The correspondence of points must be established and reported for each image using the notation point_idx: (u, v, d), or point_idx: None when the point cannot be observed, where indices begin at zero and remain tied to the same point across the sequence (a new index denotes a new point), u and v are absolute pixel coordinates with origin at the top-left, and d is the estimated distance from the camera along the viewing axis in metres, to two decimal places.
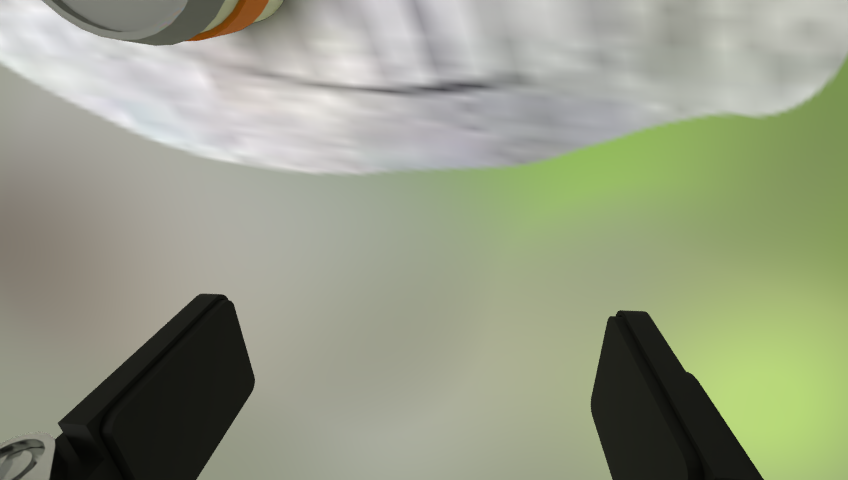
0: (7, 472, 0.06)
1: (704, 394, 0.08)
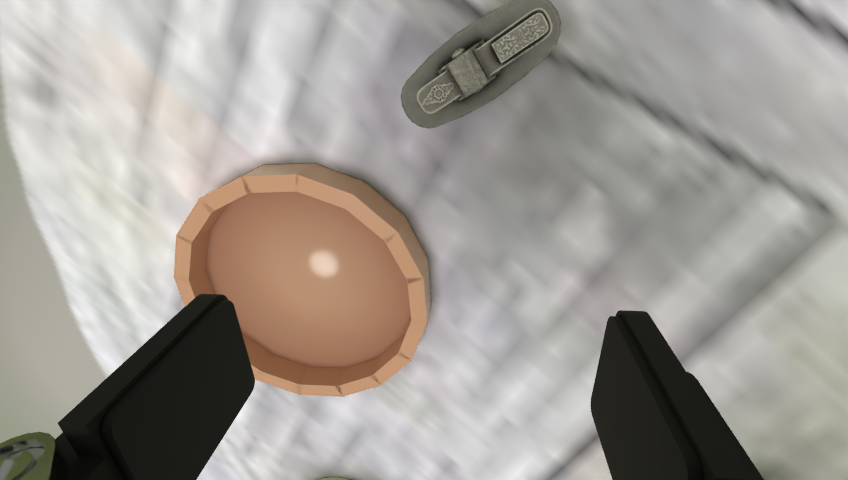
0: (7, 472, 0.06)
1: (704, 394, 0.08)
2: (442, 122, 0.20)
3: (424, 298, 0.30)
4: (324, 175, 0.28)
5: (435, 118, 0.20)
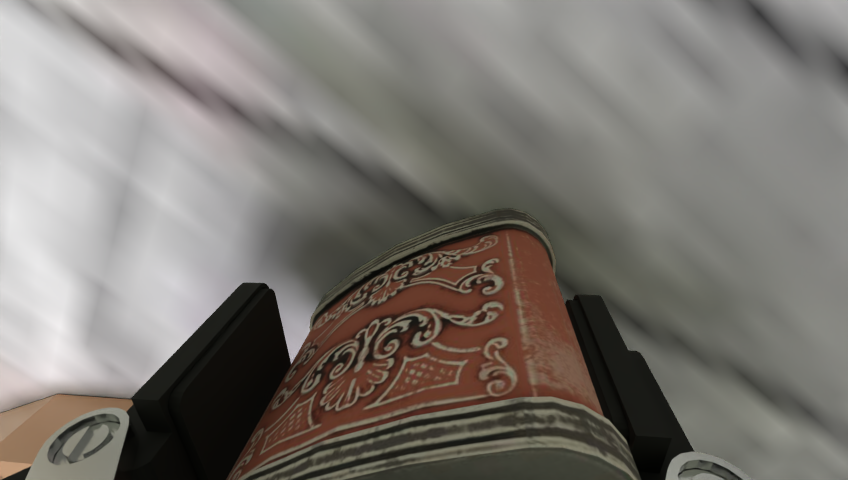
0: (87, 443, 0.07)
1: (648, 371, 0.08)
2: None
3: None
4: None
5: None
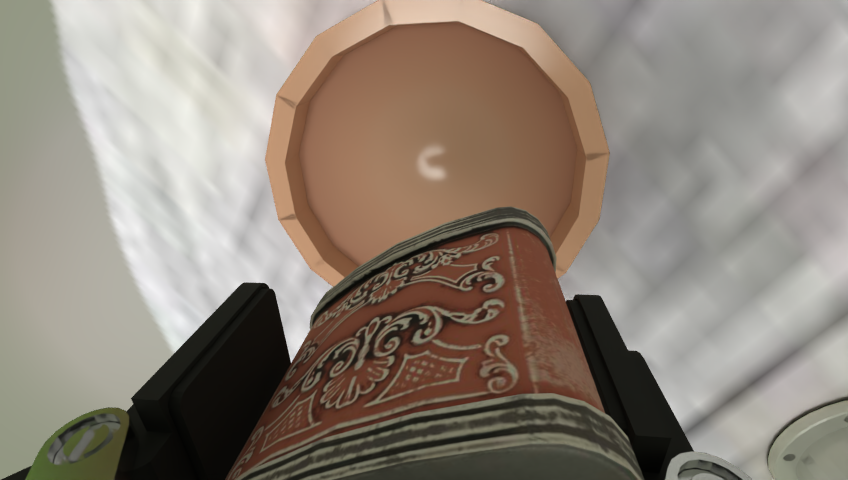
0: (87, 443, 0.07)
1: (648, 371, 0.08)
2: None
3: (603, 183, 0.23)
4: None
5: None
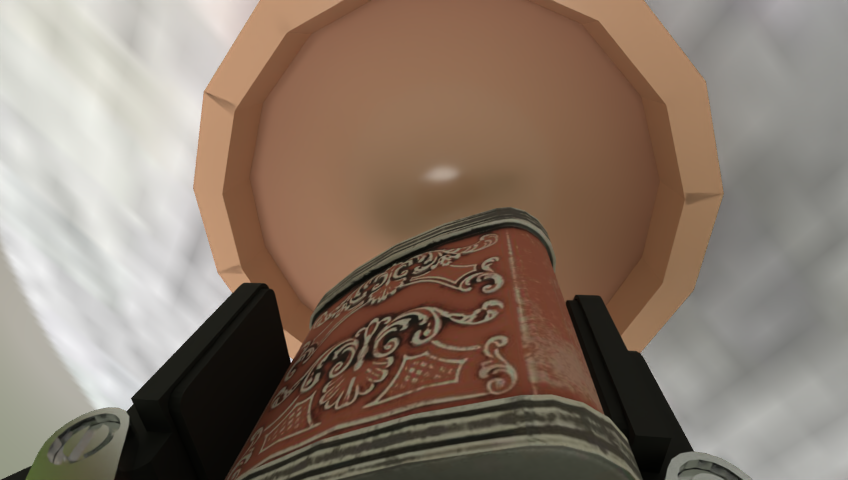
0: (87, 443, 0.07)
1: (648, 371, 0.08)
2: None
3: (707, 238, 0.15)
4: None
5: None
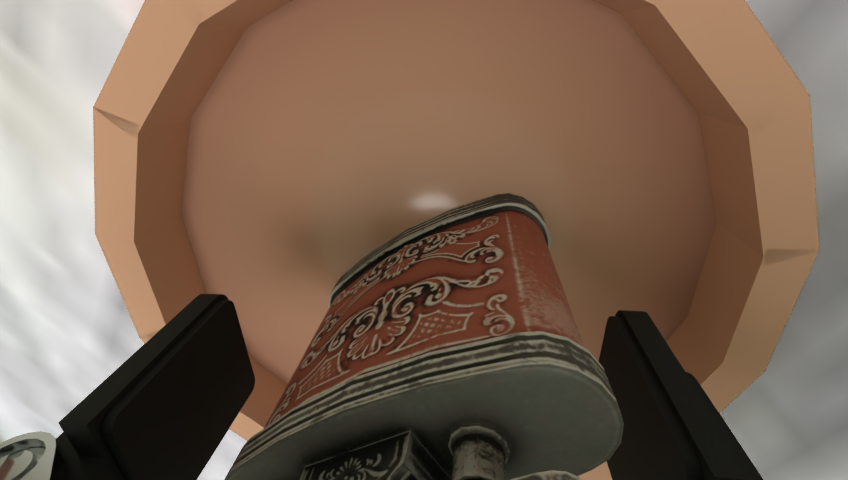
0: (8, 472, 0.06)
1: (703, 395, 0.08)
2: None
3: (789, 307, 0.11)
4: None
5: None
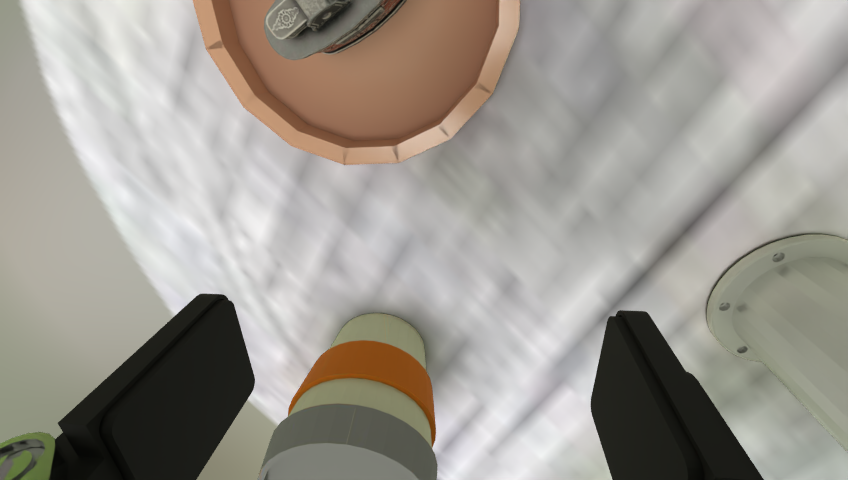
0: (7, 472, 0.06)
1: (704, 395, 0.08)
2: (306, 54, 0.21)
3: None
4: None
5: (299, 50, 0.21)
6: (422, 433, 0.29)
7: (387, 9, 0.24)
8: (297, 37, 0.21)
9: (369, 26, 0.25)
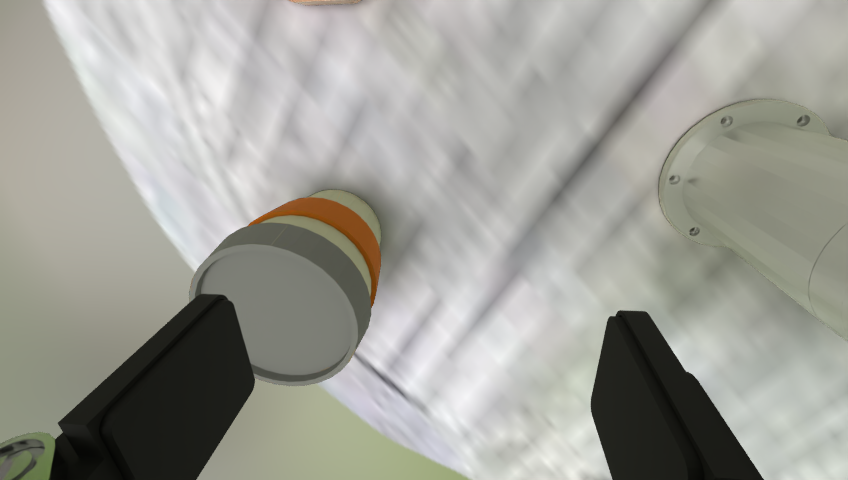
0: (7, 472, 0.06)
1: (704, 395, 0.08)
2: None
3: None
4: None
5: None
6: (356, 267, 0.29)
7: None
8: None
9: None
